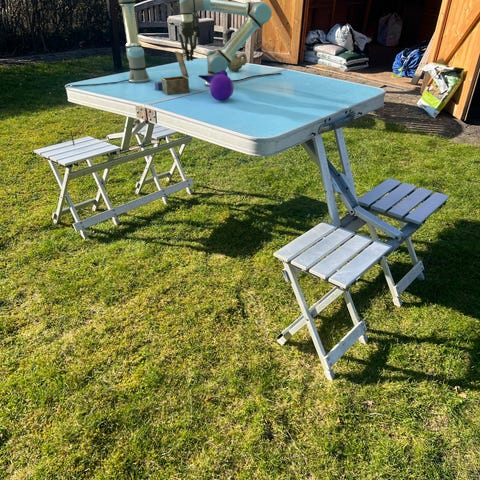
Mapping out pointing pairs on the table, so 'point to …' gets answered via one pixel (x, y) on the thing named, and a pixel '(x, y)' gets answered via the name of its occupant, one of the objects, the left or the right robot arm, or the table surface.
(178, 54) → the lid
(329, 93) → the table surface
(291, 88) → the table surface
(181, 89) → the chest
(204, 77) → the toy
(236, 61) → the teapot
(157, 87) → the block
